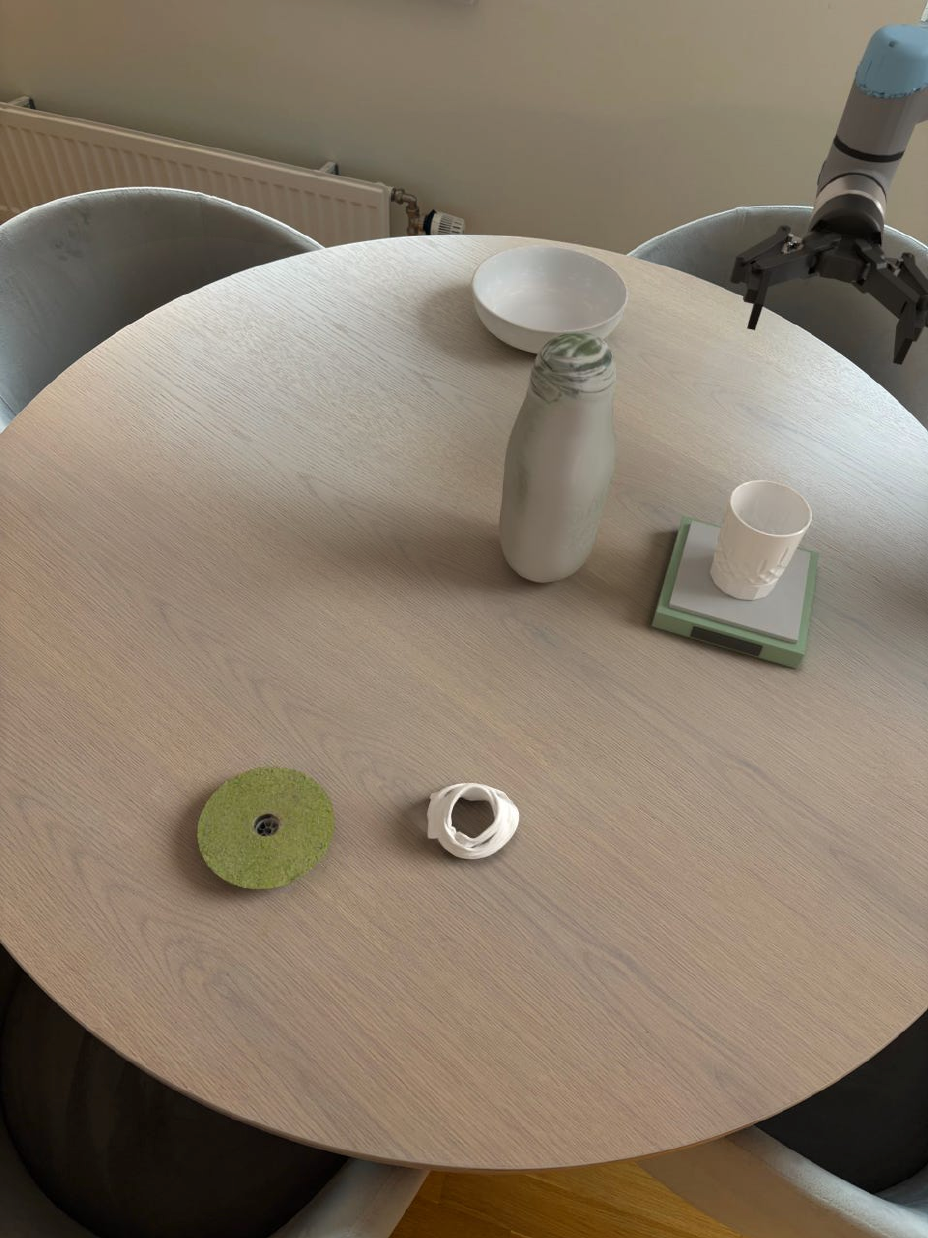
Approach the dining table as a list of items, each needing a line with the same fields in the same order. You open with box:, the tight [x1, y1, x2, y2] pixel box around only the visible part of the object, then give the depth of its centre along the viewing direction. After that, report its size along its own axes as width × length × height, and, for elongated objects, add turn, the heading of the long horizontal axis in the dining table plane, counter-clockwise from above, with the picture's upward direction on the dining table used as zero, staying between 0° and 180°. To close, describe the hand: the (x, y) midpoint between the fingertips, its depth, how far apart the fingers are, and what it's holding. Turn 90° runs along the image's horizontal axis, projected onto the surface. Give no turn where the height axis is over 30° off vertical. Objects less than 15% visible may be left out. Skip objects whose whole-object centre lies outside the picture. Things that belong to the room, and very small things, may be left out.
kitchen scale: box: [651, 515, 820, 670], centre depth 100 cm, size 15×15×3 cm
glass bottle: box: [498, 332, 617, 584], centre depth 92 cm, size 10×10×28 cm
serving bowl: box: [470, 244, 629, 354], centre depth 128 cm, size 21×21×7 cm
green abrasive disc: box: [196, 765, 335, 890], centre depth 80 cm, size 11×11×2 cm
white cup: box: [710, 479, 813, 600], centre depth 95 cm, size 8×8×10 cm
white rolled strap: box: [426, 782, 520, 860], centre depth 81 cm, size 8×7×5 cm
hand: (828, 334), depth 88 cm, fingers open, 13 cm apart
